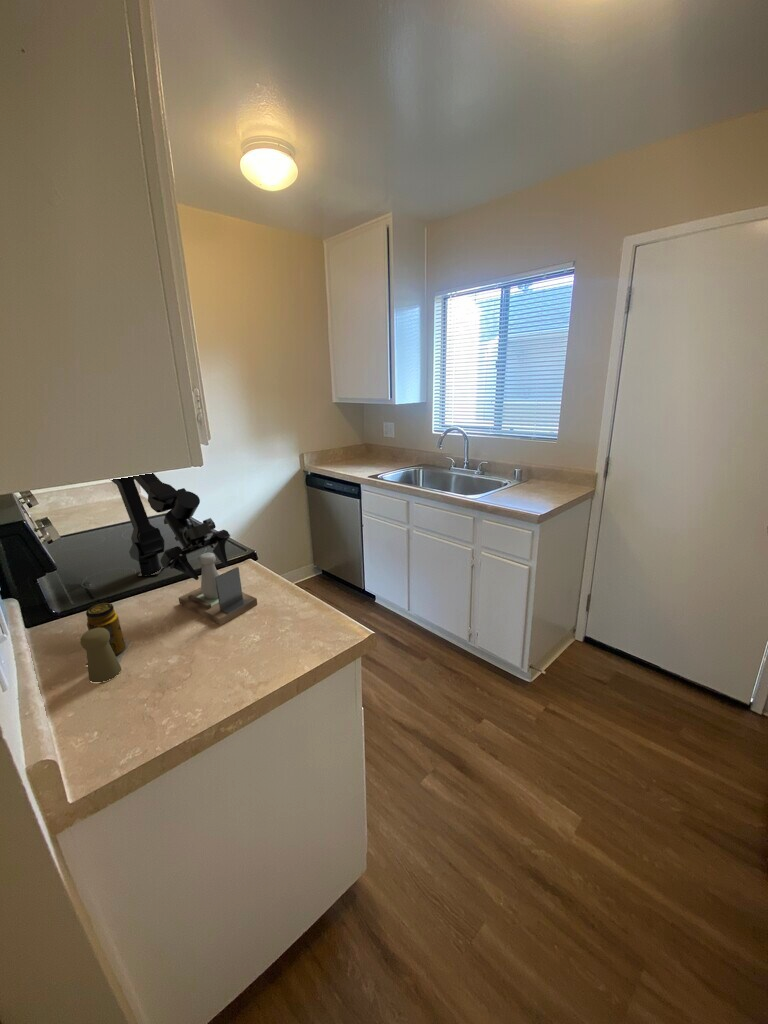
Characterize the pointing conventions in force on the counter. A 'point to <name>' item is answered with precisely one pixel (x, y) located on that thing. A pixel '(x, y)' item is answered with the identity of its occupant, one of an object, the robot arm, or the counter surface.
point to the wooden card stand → (213, 606)
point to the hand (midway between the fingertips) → (212, 572)
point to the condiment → (108, 627)
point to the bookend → (230, 591)
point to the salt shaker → (208, 575)
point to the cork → (99, 655)
